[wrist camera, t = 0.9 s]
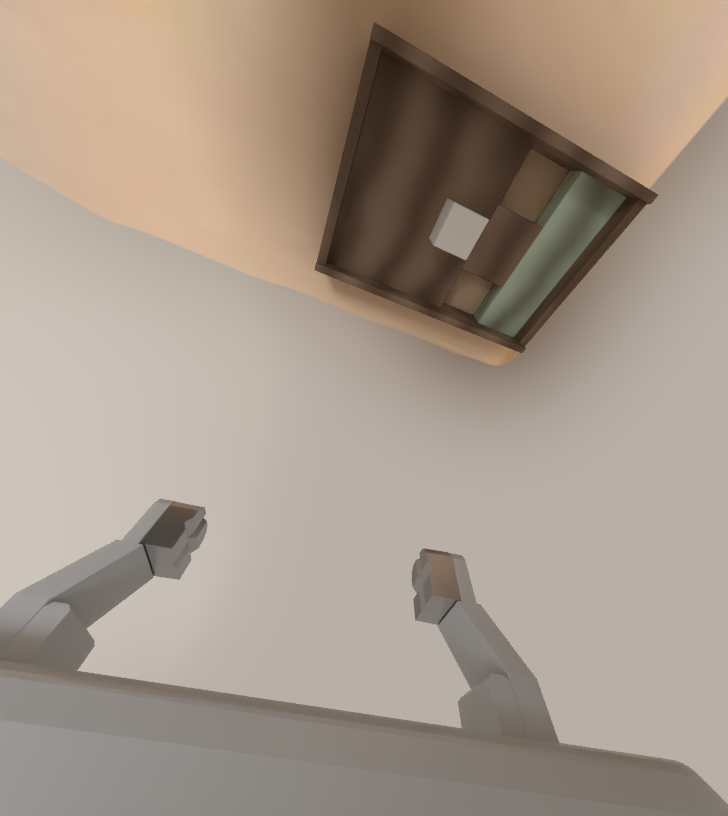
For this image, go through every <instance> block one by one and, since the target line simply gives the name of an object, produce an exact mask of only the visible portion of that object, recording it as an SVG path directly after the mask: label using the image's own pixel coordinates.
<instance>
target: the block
mask: <svg viewBox="0 0 728 816" xmlns="http://www.w3.org/2000/svg"><path fill="white" fill-rule="evenodd" d="M488 221H489V219H487V218H485V217H483V216H481V215H480V214H478V213H476V212H474V211H472V210H470V209H468V208H466V207H464V206H462V205H460V204H458V203H456V202H454V201H452V200H450V199H448V198H447V200H446V202H445V204H444V206H443V209H442V211H441V213H440V215H439V217H438V219H437V222H436V224H435V226H434V228H433V230H432V232H431V235H430V237H429V239H430V240H431V242H432V244H433V245H434V246H436V247H438V248H440V249H442V250H444V251H446V252H449V253H451V254H453V255H455V256H457V257H460V258H462V259H464V260H467V258H468V256H469V255H470V253H471V251H472V249H473V247H474V246H475V244H476V242H477V240H478V239H479V237H480V235H481V233H482V232H483V230H484V228H485V226H486V225H487V223H488Z"/></svg>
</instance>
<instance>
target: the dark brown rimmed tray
mask: <svg viewBox="0 0 728 816" xmlns="http://www.w3.org/2000/svg"><path fill="white" fill-rule="evenodd" d="M531 148H532V149H533V150H535V151H537V152H539V153H540V154H542V155H544V156H545V157H547V158H549V159H551V160H552V161H554V162H556V163H557V164H559V165H561V166H563V167H564V168H566V169H568V170H570V171H569V173H568V174H567V176H566V177H565V179H564V180H563V182H562V183H561V185H560V186H559V188H558V189H557V191H556V192H555V194H554V195H553V197H552V198H551V200H550V201H549V203H548V204H547V206H546V207H545V209H544V210H543V212H542V213H541V215H540V216H539V218H538V219H537V221H536V222H535V223H534V222H532V221H530V220H528V219H526V218H524V217H522V216H520V215H518V214H516V213H514V212H513V211H511V210H509V209H507V208H505V207H503V206H501V205H499V204H500V202H501V200H502V198H503V196H504V195H505V193H506V191H507V189H508V188H509V186H510V184H511V182H512V181H513V179H514V177H515V175H516V174H517V172H518V170H519V168H520V167H521V165H522V163H523V161H524V160H525V158H526V156H527V154H528V153H529V151H530V149H531ZM657 196H658V194H656V193H654V192H653V191H651V190H649V189H648V188H646V187H644V186H643V185H641V184H640V183H638V182H636V181H635V180H633V179H631V178H630V177H628V176H626V175H625V174H623V173H621V172H620V171H618V170H617V169H615V168H613V167H612V166H610V165H608V164H607V163H605V162H603V161H602V160H600V159H598V158H597V157H595V156H594V155H592V154H590V153H589V152H587V151H585V150H584V149H582V148H580V147H579V146H577V145H575V144H574V143H572V142H571V141H569V140H567V139H566V138H564V137H562V136H561V135H559V134H557V133H556V132H554V131H552V130H551V129H549V128H548V127H546V126H544V125H543V124H541V123H539V122H538V121H536V120H534V119H533V118H531V117H529V116H528V115H526V114H525V113H523V112H521V111H520V110H518V109H516V108H515V107H513V106H511V105H510V104H508V103H506V102H505V101H503V100H502V99H500V98H498V97H497V96H495V95H493V94H492V93H490V92H488V91H487V90H485V89H483V88H482V87H480V86H479V85H477V84H475V83H474V82H472V81H470V80H469V79H467V78H465V77H464V76H462V75H460V74H459V73H457V72H456V71H454V70H452V69H451V68H449V67H447V66H446V65H444V64H442V63H441V62H439V61H437V60H436V59H434V58H433V57H431V56H429V55H428V54H426V53H424V52H423V51H421V50H419V49H418V48H416V47H414V46H413V45H411V44H410V43H408V42H406V41H405V40H403V39H401V38H400V37H398V36H396V35H395V34H393V33H391V32H390V31H388V30H387V29H385V28H383V27H382V26H380V25H378V24H377V23H375V22H374V24H373V28H372V32H371V37H370V44H369V48H368V52H367V56H366V60H365V64H364V69H363V73H362V77H361V81H360V85H359V89H358V94H357V98H356V102H355V106H354V110H353V114H352V118H351V123H350V127H349V131H348V135H347V139H346V143H345V148H344V152H343V156H342V160H341V164H340V168H339V173H338V177H337V181H336V185H335V189H334V193H333V198H332V202H331V206H330V210H329V214H328V218H327V223H326V227H325V231H324V235H323V239H322V243H321V247H320V252H319V256H318V260H317V263H316V266H315V270H316V271H318V272H321V273H323V274H326V275H328V276H331V277H333V278H336V279H338V280H341V281H343V282H346V283H348V284H351V285H353V286H356V287H358V288H361V289H363V290H366V291H368V292H371V293H373V294H376V295H378V296H381V297H383V298H386V299H388V300H391V301H393V302H396V303H398V304H401V305H403V306H406V307H408V308H411V309H413V310H416V311H418V312H421V313H423V314H426V315H428V316H431V317H433V318H436V319H438V320H441V321H443V322H446V323H448V324H451V325H453V326H456V327H458V328H460V329H463V330H465V331H468V332H470V333H473V334H475V335H478V336H480V337H483V338H485V339H488V340H490V341H493V342H495V343H498V344H500V345H503V346H505V347H508V348H510V349H513V350H515V351H518V352H520V353H522V352H523V351H524V350H525V349H526V348H525V345H526V344H527V343H528V342H529V341H530V340H531V338H532V337H533V336H534V335H535V334H536V333H537V331H538V330H539V329H540V328H541V327H542V326H543V324H544V323H545V322H546V321H547V320H548V319H549V317H550V316H551V315H552V314H553V313H554V312H555V310H556V309H557V308H558V307H559V306H560V305H561V303H562V302H563V301H564V300H565V299H566V298H567V296H568V295H569V294H570V293H571V292H572V291H573V289H574V288H575V287H576V286H577V285H578V284H579V282H580V281H581V280H582V279H583V278H584V277H585V275H586V274H587V273H588V272H589V271H590V270H591V268H592V267H593V266H594V265H595V264H596V263H597V261H598V260H599V259H600V258H601V257H602V256H603V254H604V253H605V252H606V251H607V250H608V249H609V247H610V246H611V245H612V244H613V243H614V241H615V240H616V239H617V238H618V237H619V236H620V234H621V233H622V232H623V231H624V230H625V229H626V228H627V226H628V225H629V224H630V223H631V222H632V220H633V219H634V218H635V217H636V216H637V215H638V213H639V212H640V211H641V210H642V209H643V208H644V206H645V205H646V204H651V203H652V202H653V201H654V199H655V198H656V197H657ZM447 198H448V199H450V200H452V201H454V202H456V203H458V204H460V205H462V206H464V207H466V208H468V209H470V210H472V211H474V212H476V213H478V214H480V215H481V216H483V217H485V218H487V219H489V221H488V223H487V225H486V226H485V228H484V230H483V232H482V233H481V235H480V237H479V239H478V240H477V242H476V244H475V246H474V247H473V249H472V251H471V253H470V255H469V256H468V258H467V260H464V259H462V258H460V257H457V256H455V255H453V254H451V253H449V252H446V251H444V250H442V249H440V248H438V247H436V246H434V245H433V244H432V242H431V240H430V239H429V237H430V235H431V232H432V230H433V228H434V226H435V224H436V222H437V219H438V217H439V215H440V213H441V211H442V209H443V206H444V204H445V202H446V200H447ZM462 269H463V270H466V271H468V272H470V273H472V274H474V275H477V276H479V277H481V278H483V279H486V280H488V281H490V282H492V283H494V286H493V287H492V289H491V290H490V292H489V293H488V295H487V296H486V298H485V299H484V301H483V302H482V304H481V305H480V307H479V308H478V310H477V311H476V313H475V314H474V315H471V314H469V313H467V312H464V311H462V310H459V309H457V308H455V307H452V306H450V305H447V304H445V303H443V302H444V300H445V298H446V297H447V295H448V293H449V291H450V290H451V288H452V286H453V284H454V283H455V281H456V279H457V277H458V276H459V274H460V272H461V270H462Z"/></svg>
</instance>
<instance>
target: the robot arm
mask: <svg viewBox="0 0 728 816" xmlns="http://www.w3.org/2000/svg"><path fill="white" fill-rule="evenodd" d="M205 514H206V512H205V507H200V506H194V505H189V504H184V503H179V502H175V501H170V500H164V499H159V500H158V501H156V502H155V503H154V504H153V505H152V506H151V507H150V508H149V510H148V511H147V512H146V513H145V514H144V515H143V516H142V518H141V519H140V520H139V521H138V522H137V523H136V524H135V525H134V527H133V528H132V529H131V530H130V531H129V532H128V533H127V535H126V536H125V537H124V538H123V539H122V540H115V541H114V542H112V543H110V544H108V545H106V546H104V547H102V548H100V549H99V550H97V551H95V552H93V553H91V554H89V555H87V556H85V557H83V558H82V559H80V560H78V561H76V562H74V563H72V564H70V565H68V566H66V567H65V568H63V569H61V570H59V571H57V572H55V573H53V574H51V575H49V576H48V577H46V578H44V579H42V580H40V581H38V582H36V583H34V584H32V585H31V586H29V587H27V588H25V589H23V590H21V591H19V592H18V593H15V595H13V596H12V597H11V598H10V599H9V600H8V601H7V602H6V603H5V604H4V605H3V606H2V607H1V608H0V816H728V804H727V803H726V802H725V801H724V800H723V799H722V798H721V797H720V796H719V795H718V794H717V793H716V792H715V791H714V790H713V789H712V788H711V787H710V786H709V785H708V784H707V783H706V782H705V781H704V780H703V779H702V778H701V777H700V776H699V775H698V774H697V773H696V772H695V771H694V770H692V769H691V768H690V767H688V766H686V765H684V764H683V763H680V762H677V761H674V760H668V759H663V758H656V757H650V756H643V755H636V754H629V753H623V752H616V751H609V750H602V749H596V748H589V747H582V746H576V745H569V744H563V743H559V741H558V738H557V735H556V732H555V730H554V727H553V724H552V721H551V718H550V715H549V713H548V710H547V707H546V704H545V701H544V698H543V695H542V693H541V690H540V687H539V684H538V681H537V679H536V677H535V676H534V675H533V674H532V672H531V671H530V670H529V668H528V667H527V666H526V664H525V663H524V662H523V660H522V659H521V658H520V656H519V655H518V654H517V652H516V651H515V650H514V648H513V647H512V646H511V645H510V643H509V642H508V640H507V639H506V638H505V636H504V635H503V634H502V632H501V631H500V630H499V628H498V627H497V626H496V625H495V623H494V622H493V621H492V619H491V618H490V617H489V615H488V614H487V613H486V611H485V610H484V609H483V607H482V606H481V605H480V604H477V603H476V600H475V596H474V592H473V588H472V584H471V581H470V577H469V573H468V569H467V566H466V562H465V559H464V557H463V556H461V555H457V554H451V553H448V552H442V551H436V550H430V549H422V550H421V552H420V558H419V559H417V560H416V561H415V563H414V565H413V570H412V586H413V588H414V590H415V591H416V592H417V595H416V596H415V598H414V610H415V620H417V621H422V622H427V623H432V624H437V625H438V627H439V629H440V631H441V633H442V635H443V637H444V638H445V641H446V642H447V644H448V646H449V648H450V650H451V652H452V654H453V656H454V658H455V660H456V661H457V663H458V665H459V667H460V669H461V671H462V673H463V675H464V677H465V679H466V680H467V682H468V684H469V686H470V688H471V690H470V691H469V692H467V693H466V694H465V695H464V696H462V697H461V698H460V700H459V701H458V706H459V712H460V718H461V725H462V728H455V727H449V726H442V725H435V724H428V723H422V722H415V721H409V720H402V719H394V718H388V717H381V716H375V715H369V714H361V713H355V712H348V711H341V710H335V709H328V708H321V707H315V706H307V705H301V704H295V703H287V702H282V701H274V700H268V699H261V698H254V697H247V696H241V695H235V694H228V693H221V692H214V691H208V690H201V689H195V688H187V687H181V686H174V685H168V684H161V683H154V682H147V681H141V680H134V679H128V678H121V677H114V676H107V675H101V674H94V673H88V672H81V671H77V670H78V669H79V667H80V666H81V664H82V663H83V662H84V660H85V659H86V657H87V656H88V654H89V653H90V652H91V650H92V649H93V647H94V640H93V638H92V637H91V635H90V634H89V632H88V631H87V629H86V628H88V627H89V626H90V625H92V624H93V623H94V622H95V621H97V620H98V619H99V618H101V617H102V616H103V615H105V614H106V613H107V612H109V611H110V610H111V609H112V608H114V607H115V606H116V605H118V604H119V603H120V602H122V601H123V600H124V599H126V598H127V597H128V596H130V595H131V594H132V593H134V592H135V591H136V590H138V589H139V588H140V587H142V586H143V585H144V584H145V583H147V582H148V581H149V580H151V579H152V578H153V576H159V577H166V578H173V579H180V578H181V576H182V574H183V573H184V571H185V569H186V568H187V566H188V564H189V563H190V561H191V555H190V553H191V552H193V551H194V550H196V549H198V548H199V546H200V544H201V543H202V541H203V539H204V536H205V534H206V529H207V521H206V520H205V519H204V518H203V517H204V516H205Z"/></svg>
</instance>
